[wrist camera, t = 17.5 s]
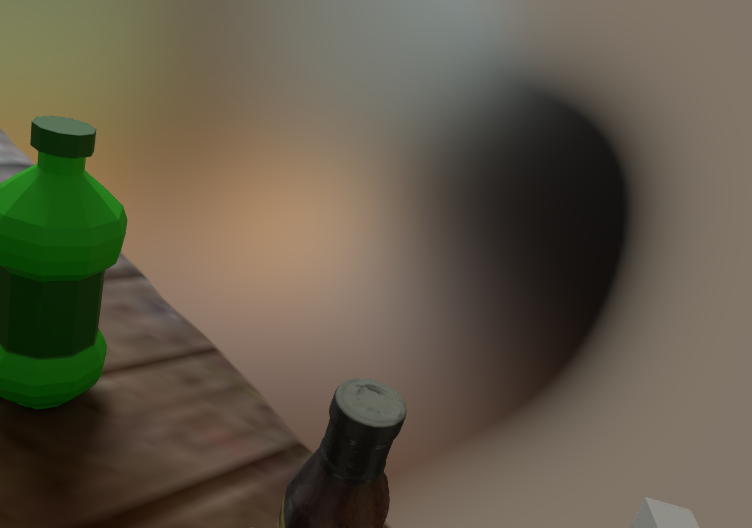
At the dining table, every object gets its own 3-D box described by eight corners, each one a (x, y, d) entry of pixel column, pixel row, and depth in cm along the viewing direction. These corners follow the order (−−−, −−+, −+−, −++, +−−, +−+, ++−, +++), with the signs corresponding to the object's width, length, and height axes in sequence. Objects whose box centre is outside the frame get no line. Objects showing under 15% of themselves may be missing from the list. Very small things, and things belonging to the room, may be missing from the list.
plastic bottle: (111, 359, 59) (142, 123, 50) (94, 432, 50) (129, 160, 41) (-3, 351, 56) (8, 94, 46) (-42, 427, 47) (-39, 128, 37)
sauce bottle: (300, 568, 43) (375, 350, 36) (358, 635, 40) (454, 410, 32) (226, 619, 38) (295, 379, 31) (285, 700, 35) (379, 454, 27)
